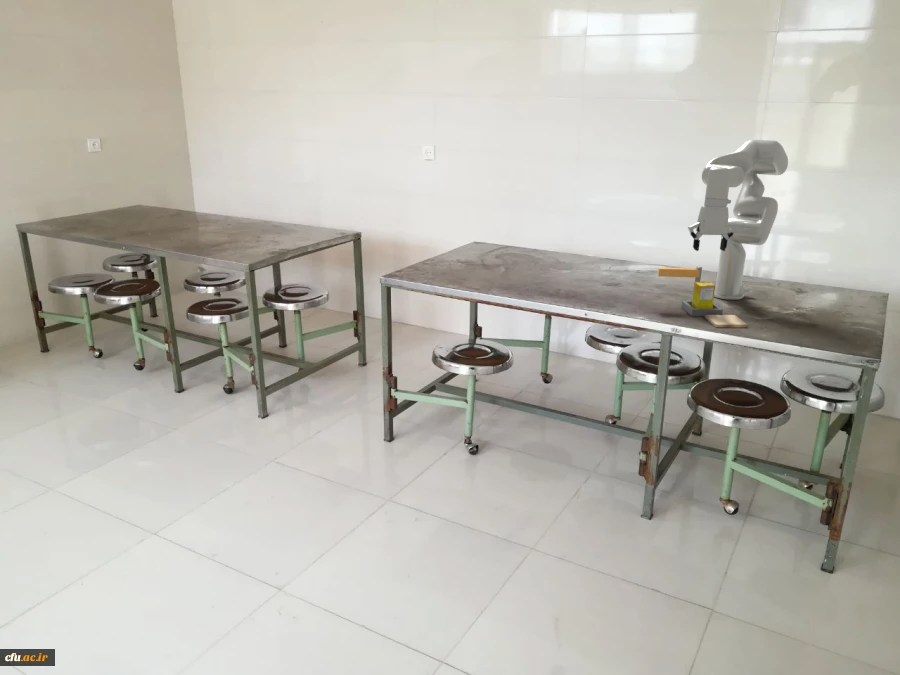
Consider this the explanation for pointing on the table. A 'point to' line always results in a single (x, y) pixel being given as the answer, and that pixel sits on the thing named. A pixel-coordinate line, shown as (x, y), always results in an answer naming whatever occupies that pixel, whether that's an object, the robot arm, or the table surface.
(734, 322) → the oak board
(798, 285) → the table surface
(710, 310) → the socket collar
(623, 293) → the table surface
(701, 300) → the supplement box
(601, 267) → the table surface
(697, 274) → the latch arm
